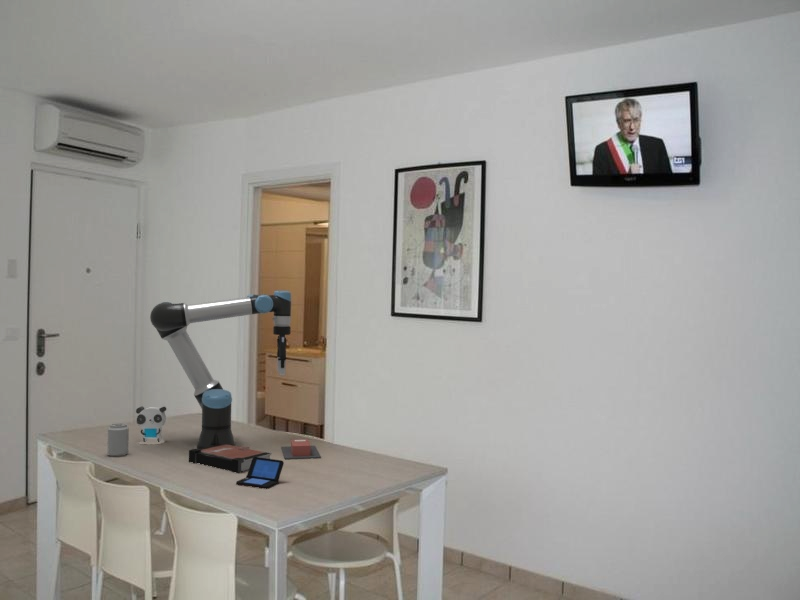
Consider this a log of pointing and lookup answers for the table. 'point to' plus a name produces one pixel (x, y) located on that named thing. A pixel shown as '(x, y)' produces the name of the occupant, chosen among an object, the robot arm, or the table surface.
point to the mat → (288, 455)
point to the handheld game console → (263, 473)
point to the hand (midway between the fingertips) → (281, 373)
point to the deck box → (300, 447)
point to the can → (118, 439)
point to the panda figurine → (151, 422)
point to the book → (226, 457)
